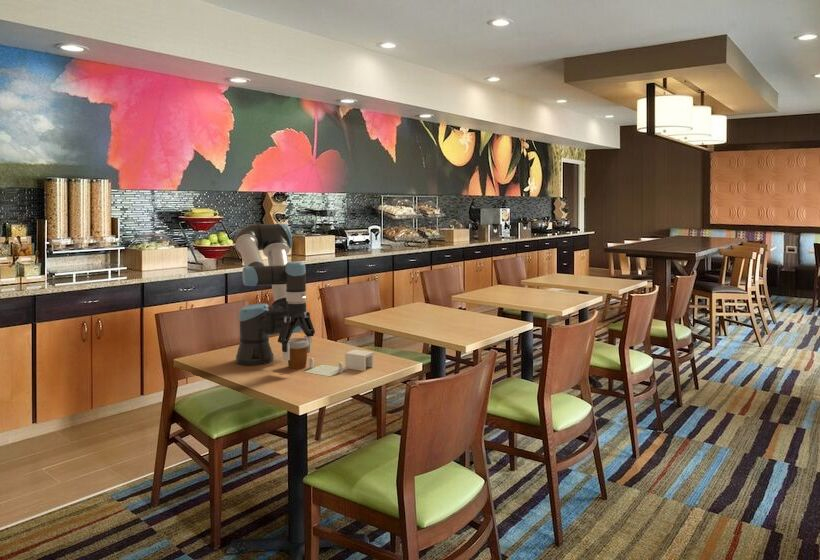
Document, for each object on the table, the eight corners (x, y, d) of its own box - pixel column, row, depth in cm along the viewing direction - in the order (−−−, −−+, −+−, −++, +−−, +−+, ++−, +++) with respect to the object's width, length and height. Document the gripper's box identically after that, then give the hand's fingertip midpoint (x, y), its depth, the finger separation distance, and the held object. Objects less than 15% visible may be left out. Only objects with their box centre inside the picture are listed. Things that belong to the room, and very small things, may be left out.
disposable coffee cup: (304, 374, 241) (304, 344, 239) (281, 373, 243) (280, 342, 241) (313, 368, 250) (312, 338, 249) (290, 366, 252) (290, 337, 251)
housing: (345, 368, 245) (345, 353, 245) (354, 364, 251) (354, 349, 250) (364, 371, 241) (364, 355, 241) (373, 367, 247) (373, 352, 246)
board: (300, 375, 240) (300, 361, 240) (329, 363, 257) (329, 351, 256) (347, 382, 231) (347, 369, 230) (373, 370, 248) (373, 357, 247)
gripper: (283, 307, 230) (284, 364, 233) (323, 298, 252) (323, 350, 255) (267, 306, 234) (268, 362, 236) (307, 297, 256) (308, 348, 258)
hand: (297, 356), depth 246 cm, fingers open, 13 cm apart
